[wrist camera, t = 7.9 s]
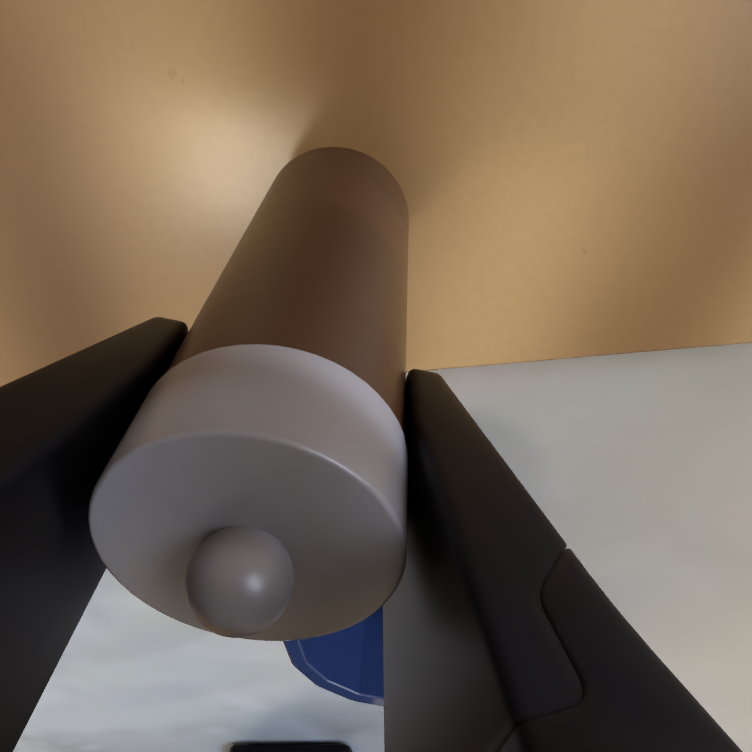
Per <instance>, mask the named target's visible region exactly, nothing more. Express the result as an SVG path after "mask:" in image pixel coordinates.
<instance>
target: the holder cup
mask: <svg viewBox="0 0 752 752" xmlns="http://www.w3.org/2000/svg"><path fill="white" fill-rule="evenodd" d="M283 642H284V645H285V647H286V650H287V652H288V655H289V657H290V660H291V662H292V664H293V665H294V666H295V667H296V668H297V669H298V670H299V671H300V672H302V673H303V674H304V675H305V676H306V677H308V678H309V679H310V680H311V681H312V682H313V683H315V684H316V685H318V686H319V687H321V688H324V689H326V690H328V691H331V692H333V693H335V694H338V695H340V696H343V697H345V698H347V699H350V700H353V701H357V702H363V703H368V704H374V705H379V706H384V664H383V606H382V607H381V608H379V609H378V610H377V611H376V612H375V613H373V614H372V615H370V616H369V617H367V618H366V619H364V620H363V621H361V622H359V623H357V624H355V625H353V626H350V627H348V628H346V629H343V630H340V631H337V632H334V633H331V634H327V635H323V636H319V637H313V638H307V639H300V640H286V641H283Z"/></svg>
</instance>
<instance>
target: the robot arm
mask: <svg viewBox="0 0 752 752" xmlns="http://www.w3.org/2000/svg"><path fill="white" fill-rule="evenodd" d="M187 334H188V327H187V325H186V323H184V322H182V321H178V320H173V319H168V318H163V317H154V318H151V319H149V320H147V321H145V322H143V323H140V324H138V325H136V326H134V327H131V328H129V329H127V330H125V331H123V332H120V333H118V334H116V335H114V336H112V337H109V338H107V339H105V340H103V341H100V342H98V343H96V344H94V345H92V346H89V347H87V348H85V349H83V350H81V351H78V352H76V353H74V354H72V355H69V356H67V357H65V358H63V359H61V360H58V361H56V362H54V363H52V364H50V365H47V366H45V367H43V368H41V369H39V370H36V371H34V372H32V373H30V374H27V375H25V376H23V377H21V378H19V379H16V380H14V381H12V382H10V383H8V384H5V385H3V386H1V387H0V752H13V750H14V748H15V746H16V744H17V742H18V740H19V738H20V736H21V734H22V732H23V730H24V728H25V726H26V725H27V723H28V721H29V719H30V717H31V715H32V713H33V711H34V709H35V707H36V705H37V703H38V701H39V699H40V697H41V695H42V693H43V691H44V689H45V687H46V685H47V683H48V681H49V679H50V677H51V676H52V674H53V672H54V670H55V668H56V666H57V664H58V662H59V660H60V658H61V656H62V654H63V652H64V650H65V648H66V646H67V644H68V642H69V640H70V638H71V636H72V634H73V632H74V630H75V628H76V626H77V625H78V623H79V621H80V619H81V617H82V615H83V613H84V611H85V609H86V607H87V605H88V603H89V601H90V599H91V597H92V595H93V593H94V591H95V589H96V587H97V585H98V583H99V581H100V579H101V577H102V576H103V574H104V572H105V570H106V568H107V567H106V566H105V564H104V563H103V562H102V560H101V558H100V557H99V555H98V553H97V551H96V549H95V547H94V544H93V541H92V538H91V535H90V529H89V521H88V513H89V502H90V498H91V495H92V492H93V489H94V487H95V485H96V483H97V481H98V480H99V478H100V476H101V474H102V473H103V471H104V469H105V467H106V466H107V464H108V462H109V460H110V459H111V457H112V455H113V453H114V452H115V450H116V448H117V446H118V445H119V443H120V441H121V440H122V438H123V436H124V434H125V433H126V431H127V429H128V427H129V426H130V424H131V422H132V420H133V419H134V417H135V415H136V414H137V412H138V410H139V408H140V407H141V405H142V403H143V401H144V400H145V398H146V396H147V394H148V393H149V391H150V389H151V388H152V387H153V386H154V385H155V383H156V382H157V381H158V380H159V379H160V378H161V377H162V376H163V375H164V374H165V373H166V371H167V369H168V367H169V365H170V364H171V362H172V360H173V358H174V357H175V355H176V353H177V351H178V349H179V348H180V346H181V344H182V342H183V341H184V339H185V337H186V335H187ZM404 436H405V441H406V445H407V450H408V519H407V559H406V566H405V570H404V573H403V576H402V579H401V581H400V583H399V585H398V586H397V588H396V590H395V591H394V593H393V595H392V596H391V597H390V598H389V599H388V600H387V602H386V603H385V604H384V605H383V664H384V741H385V752H742V751H741V750H740V748H739V747H738V746H737V745H736V744H735V743H734V742H733V741H732V740H731V738H730V737H729V736H728V735H727V734H726V733H725V732H724V731H723V729H722V728H721V727H720V726H719V725H718V724H717V723H716V722H715V720H714V719H713V718H712V717H711V716H710V715H709V714H708V713H707V711H706V710H705V709H704V708H703V707H702V706H701V705H700V704H699V702H698V701H697V700H696V699H695V698H694V697H693V696H692V695H691V694H690V692H689V691H688V690H687V689H686V688H685V687H684V686H683V685H682V683H681V682H680V681H679V680H678V679H677V678H676V677H675V676H674V674H673V673H672V672H671V671H670V670H669V669H668V668H667V667H666V665H665V664H664V663H663V662H662V661H661V660H660V659H659V658H658V656H657V655H656V654H655V653H654V652H653V651H652V650H651V648H650V647H649V646H648V645H647V644H646V643H645V641H644V640H643V639H642V638H641V637H640V636H639V634H638V633H637V632H636V631H635V630H634V629H633V627H632V626H631V625H630V624H629V623H628V622H627V620H626V619H625V618H624V617H623V616H622V615H621V613H620V612H619V611H618V610H617V609H616V607H615V606H614V605H613V604H612V602H611V601H610V600H609V599H608V597H607V596H606V595H605V593H604V592H603V591H602V590H601V588H600V587H599V586H598V585H597V583H596V582H595V581H594V579H593V578H592V577H591V576H590V574H589V573H588V572H587V570H586V569H585V568H584V566H583V565H582V564H581V562H580V561H579V560H578V558H577V557H576V556H575V554H574V553H573V552H572V550H570V549H565V548H566V546H567V545H566V543H565V541H564V540H563V539H562V537H561V536H560V535H559V533H558V532H557V531H556V529H555V528H554V527H553V525H552V524H551V523H550V521H549V520H548V519H547V517H546V516H545V515H544V513H543V512H542V511H541V509H540V508H539V507H538V505H537V504H536V503H535V501H534V500H533V499H532V497H531V496H530V495H529V493H528V492H527V491H526V489H525V488H524V487H523V485H522V484H521V483H520V481H519V480H518V479H517V477H516V476H515V475H514V473H513V472H512V471H511V469H510V468H509V467H508V465H507V464H506V463H505V461H504V460H503V459H502V457H501V456H500V455H499V453H498V452H497V451H496V449H495V448H494V447H493V445H492V444H491V442H490V441H489V440H488V438H487V437H486V436H485V434H484V433H483V432H482V430H481V429H480V428H479V426H478V425H477V424H476V422H475V421H474V420H473V418H472V417H471V416H470V414H469V413H468V412H467V410H466V409H465V408H464V406H463V405H462V404H461V402H460V401H459V400H458V398H457V397H456V396H455V394H454V393H453V392H452V390H451V389H450V388H449V386H448V385H447V384H446V382H445V381H444V380H443V378H442V377H441V376H440V375H439V374H437V373H434V372H429V371H424V370H419V369H412V370H410V371H409V373H408V375H407V378H406V381H405V428H404ZM230 752H352V750H351V748H350V747H349V746H347V745H341V744H331V745H240V746H233V747H231V748H230Z"/></svg>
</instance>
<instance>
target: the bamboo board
mask: <svg viewBox="0 0 752 752" xmlns="http://www.w3.org/2000/svg"><path fill="white" fill-rule="evenodd" d="M323 147H344V148H349V149H353V150H356V151H359V152H362V153H364V154H366V155H368V156H370V157H372V158H374V159H375V160H377V161H378V162H379V163H381V164H382V165H383V166H384V167H385V168H386V169H388V171H389V172H390V173H391V174H392V175H393V176H394V178H395V179H396V181H397V182H398V184H399V185H400V187H401V189H402V191H403V193H404V196H405V199H406V202H407V207H408V215H409V235H408V283H407V332H406V372H409V371H410V370H412V369H419V370H435V369H446V368H458V367H470V366H481V365H493V364H505V363H517V362H528V361H540V360H552V359H564V358H575V357H587V356H599V355H611V354H622V353H634V352H646V351H658V350H669V349H681V348H693V347H705V346H716V345H728V344H740V343H751V342H752V0H0V387H1V386H3V385H5V384H8V383H10V382H12V381H14V380H16V379H19V378H21V377H23V376H25V375H27V374H30V373H32V372H34V371H36V370H39V369H41V368H43V367H45V366H47V365H50V364H52V363H54V362H56V361H58V360H61V359H63V358H65V357H67V356H69V355H72V354H74V353H76V352H78V351H81V350H83V349H85V348H87V347H89V346H92V345H94V344H96V343H98V342H100V341H103V340H105V339H107V338H109V337H112V336H114V335H116V334H118V333H120V332H123V331H125V330H127V329H129V328H131V327H134V326H136V325H138V324H140V323H143V322H145V321H147V320H149V319H151V318H154V317H163V318H168V319H173V320H178V321H182V322H184V323H186V325H187V327H188V332H189V330H190V328H191V326H192V325H193V323H194V321H195V319H196V318H197V316H198V314H199V312H200V310H201V309H202V307H203V305H204V303H205V302H206V300H207V298H208V296H209V295H210V293H211V291H212V289H213V287H214V286H215V284H216V282H217V280H218V279H219V277H220V275H221V273H222V271H223V270H224V268H225V266H226V264H227V263H228V261H229V259H230V257H231V256H232V254H233V252H234V250H235V248H236V247H237V245H238V243H239V241H240V240H241V238H242V236H243V234H244V232H245V231H246V229H247V227H248V225H249V224H250V222H251V220H252V218H253V217H254V215H255V213H256V211H257V209H258V208H259V206H260V204H261V202H262V201H263V199H264V197H265V195H266V193H267V192H268V190H269V188H270V186H271V185H272V183H273V181H274V179H275V178H276V176H277V175H278V173H279V172H280V171H281V169H282V168H283V167H284V166H285V165H286V164H288V163H289V162H290V161H291V160H293V159H294V158H296V157H297V156H299V155H301V154H303V153H305V152H308V151H311V150H313V149H318V148H323Z"/></svg>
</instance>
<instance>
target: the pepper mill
mask: <svg viewBox="0 0 752 752" xmlns="http://www.w3.org/2000/svg"><path fill="white" fill-rule="evenodd" d="M408 235H409V215H408V207H407V202H406V199H405V196H404V193H403V191H402V189H401V187H400V185H399V184H398V182H397V181H396V179H395V178H394V176H393V175H392V174H391V173H390V172H389V171H388V169H386V168H385V167H384V166H383V165H382V164H381V163H379V162H378V161H377V160H375V159H374V158H372V157H370V156H368V155H366V154H364V153H362V152H359V151H356V150H353V149H349V148H344V147H323V148H318V149H313V150H311V151H308V152H305V153H303V154H301V155H299V156H297V157H296V158H294V159H293V160H291V161H290V162H289V163H288V164H286V165H285V166H284V167H283V168H282V169H281V171H280V172H279V173H278V175H277V176H276V178H275V179H274V181H273V183H272V185H271V186H270V188H269V190H268V192H267V193H266V195H265V197H264V199H263V201H262V202H261V204H260V206H259V208H258V209H257V211H256V213H255V215H254V217H253V218H252V220H251V222H250V224H249V225H248V227H247V229H246V231H245V232H244V234H243V236H242V238H241V240H240V241H239V243H238V245H237V247H236V248H235V250H234V252H233V254H232V256H231V257H230V259H229V261H228V263H227V264H226V266H225V268H224V270H223V271H222V273H221V275H220V277H219V279H218V280H217V282H216V284H215V286H214V287H213V289H212V291H211V293H210V295H209V296H208V298H207V300H206V302H205V303H204V305H203V307H202V309H201V310H200V312H199V314H198V316H197V318H196V319H195V321H194V323H193V325H192V326H191V328H190V330H189V332H188V334H187V335H186V337H185V339H184V341H183V342H182V344H181V346H180V348H179V349H178V351H177V353H176V355H175V357H174V358H173V360H172V362H171V364H170V365H169V367H168V369H167V371H166V373H165V374H164V375H163V376H162V377H161V378H160V379H159V380H158V381H157V382H156V383H155V385H154V386H153V387H152V388H151V389H150V391H149V393H148V394H147V396H146V398H145V400H144V401H143V403H142V405H141V407H140V408H139V410H138V412H137V414H136V415H135V417H134V419H133V420H132V422H131V424H130V426H129V427H128V429H127V431H126V433H125V434H124V436H123V438H122V440H121V441H120V443H119V445H118V446H117V448H116V450H115V452H114V453H113V455H112V457H111V459H110V460H109V462H108V464H107V466H106V467H105V469H104V471H103V473H102V474H101V476H100V478H99V480H98V481H97V483H96V485H95V487H94V489H93V492H92V495H91V498H90V502H89V513H88V521H89V529H90V535H91V538H92V541H93V544H94V547H95V549H96V551H97V553H98V555H99V557H100V558H101V560H102V562H103V563H104V564H105V566H106V567H107V569H108V570H109V571H110V573H111V574H112V575H113V576H114V577H115V578H116V579H117V580H118V581H119V582H120V583H121V584H122V585H123V586H124V587H125V588H126V589H127V590H129V591H130V592H131V593H132V594H133V595H135V596H136V597H137V598H139V599H140V600H142V601H143V602H145V603H146V604H147V605H149V606H151V607H153V608H154V609H156V610H158V611H159V612H161V613H163V614H165V615H167V616H169V617H171V618H174V619H176V620H178V621H180V622H183V623H185V624H188V625H191V626H193V627H196V628H199V629H203V630H206V631H209V632H213V633H215V634H218V635H221V636H225V637H231V638H244V639H252V640H265V641H286V640H300V639H307V638H313V637H319V636H323V635H327V634H331V633H334V632H337V631H340V630H343V629H346V628H348V627H350V626H353V625H355V624H357V623H359V622H361V621H363V620H364V619H366V618H367V617H369V616H370V615H372V614H373V613H375V612H376V611H377V610H378V609H379V608H381V607H382V606H383V605H384V604H385V603H386V602H387V600H388V599H389V598H390V597H391V596H392V595H393V593H394V591H395V590H396V588H397V586H398V585H399V583H400V581H401V579H402V576H403V573H404V570H405V566H406V559H407V519H408V450H407V445H406V441H405V436H404V428H405V380H406V332H407V283H408Z"/></svg>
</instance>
